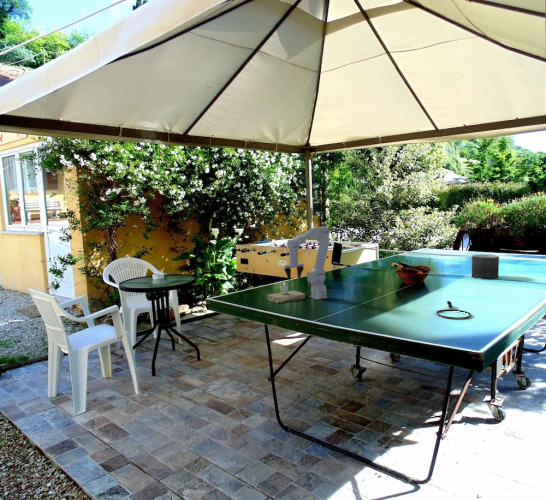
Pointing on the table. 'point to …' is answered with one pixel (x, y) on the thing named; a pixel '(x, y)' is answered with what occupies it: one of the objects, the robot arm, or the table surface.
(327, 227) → the robot arm
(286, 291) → the steel peg
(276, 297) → the hole block
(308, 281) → the food container
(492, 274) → the planter
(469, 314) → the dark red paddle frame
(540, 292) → the table surface
